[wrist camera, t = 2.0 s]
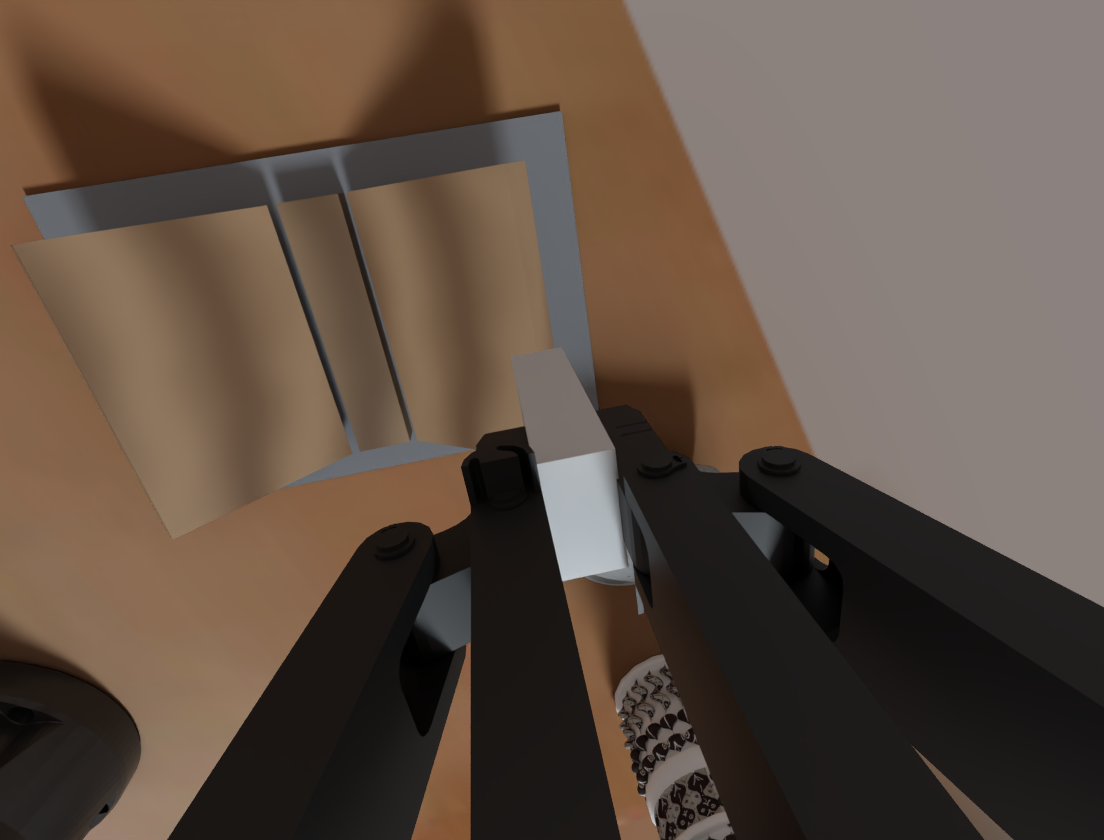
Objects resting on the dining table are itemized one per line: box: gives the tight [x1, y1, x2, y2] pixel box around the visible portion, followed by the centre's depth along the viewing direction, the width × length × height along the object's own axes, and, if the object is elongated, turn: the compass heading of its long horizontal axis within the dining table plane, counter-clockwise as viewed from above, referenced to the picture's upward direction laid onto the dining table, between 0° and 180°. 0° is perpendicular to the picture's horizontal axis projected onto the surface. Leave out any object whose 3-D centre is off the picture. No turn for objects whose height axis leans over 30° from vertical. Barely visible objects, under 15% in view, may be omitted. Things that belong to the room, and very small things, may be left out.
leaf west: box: [10, 205, 353, 539], centre depth 25 cm, size 9×13×1 cm
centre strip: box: [276, 193, 413, 452], centre depth 28 cm, size 3×13×2 cm, turn 9°
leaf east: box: [346, 161, 554, 449], centre depth 26 cm, size 9×13×1 cm
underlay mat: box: [23, 111, 599, 489], centre depth 29 cm, size 25×17×1 cm
